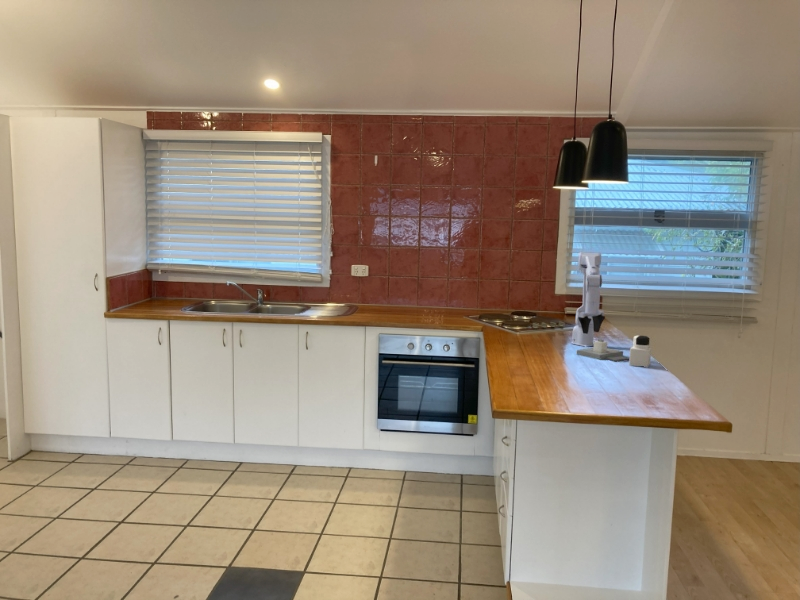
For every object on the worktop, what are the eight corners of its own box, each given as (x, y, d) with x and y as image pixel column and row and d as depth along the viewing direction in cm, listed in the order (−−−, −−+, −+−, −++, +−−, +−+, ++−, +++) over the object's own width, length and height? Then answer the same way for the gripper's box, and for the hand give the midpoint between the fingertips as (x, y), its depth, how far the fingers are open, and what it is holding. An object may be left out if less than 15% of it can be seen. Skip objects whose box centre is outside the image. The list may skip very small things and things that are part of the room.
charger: (593, 354, 264) (594, 339, 263) (598, 353, 266) (599, 338, 265) (600, 356, 261) (601, 340, 260) (606, 355, 263) (607, 339, 262)
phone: (605, 360, 256) (605, 357, 256) (620, 358, 260) (621, 355, 260) (614, 363, 252) (615, 360, 251) (630, 361, 256) (630, 358, 256)
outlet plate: (576, 354, 265) (576, 349, 265) (599, 350, 274) (600, 346, 274) (599, 359, 255) (599, 354, 255) (622, 355, 264) (623, 351, 264)
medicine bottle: (650, 364, 248) (652, 335, 246) (647, 367, 241) (649, 338, 240) (632, 362, 251) (633, 333, 250) (628, 365, 245) (630, 336, 244)
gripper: (589, 303, 256) (587, 335, 258) (610, 302, 265) (608, 332, 267) (576, 302, 262) (574, 332, 264) (597, 300, 271) (595, 330, 272)
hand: (590, 332), depth 266 cm, fingers open, 7 cm apart
